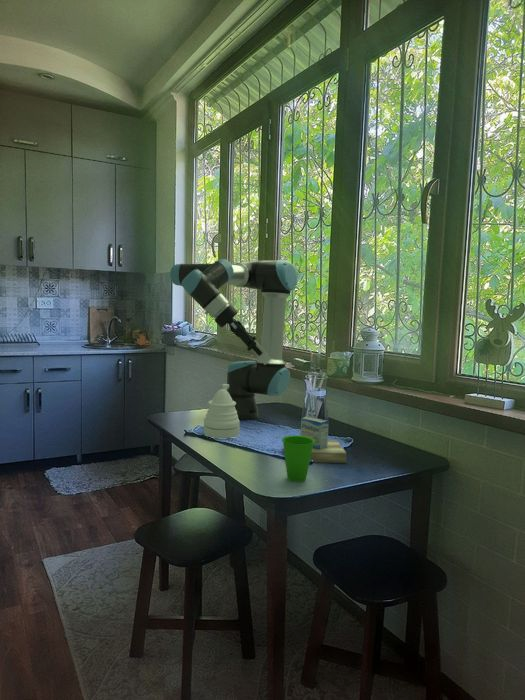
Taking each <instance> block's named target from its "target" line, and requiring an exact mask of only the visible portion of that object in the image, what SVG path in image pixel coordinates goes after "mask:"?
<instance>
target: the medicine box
mask: <svg viewBox="0 0 525 700" xmlns="http://www.w3.org/2000/svg"><path fill="white" fill-rule="evenodd" d="M329 423H330V422H329V420H326V419H321V418H316V417H311V416H304V417H302V418H300V435H299V436H306V437H310V438H312V439H314V441H315V443H313V447H312V448H316V449H323V448H325V447H327V443H328V440H329Z"/></svg>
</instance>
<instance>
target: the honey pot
mask: <svg viewBox="0 0 525 700" xmlns="http://www.w3.org/2000/svg"><path fill="white" fill-rule="evenodd" d="M221 387H222V388H221V389H219V390H217V392H215V394H214V396H213V398H212V399H211V400H208V401H207V403H208V406H209V407H208V409H207V410H206V414H205V417H204V419H203V435H204V434H205V435H207V436H209V437H214V438H231V437H236V436H238V435H239V436H240V421H241V420H239V419H238V415H237V411H236V409H235V405H236V402H235V401H233V400H232V398H231V396H230V394H229V393H228V391H227V389H228V388H229V384H227V383H222V386H221ZM239 436H238V437H239ZM236 438H237V437H236Z"/></svg>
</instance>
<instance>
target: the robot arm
mask: <svg viewBox="0 0 525 700" xmlns="http://www.w3.org/2000/svg"><path fill="white" fill-rule="evenodd" d="M296 270H297V269H295V266H294V265H293V263H292V262H290V261H289V260H283V259H282V260H281V259H278V260H277V259H272V260H251V261H245V262H235V263H233V264H232V263H231V262H230V261H228V260H227V259H225V258H219V259H218V260H215V261H214V262H213V263H178V264H174V265H173V266H172V267H171V269H170V271H169V278H170V281H171V282H172V283H173V285H175V286H179V287H180V286H181V287H182V288H183V290H185V291H186V293H187V294H188V295H189V296H190V297H191V299H193V300H194V301H195V302H196V303H197V304H198V305H199V306H200V307H201V308H202V310H204V311H205V312H204V314H205V315H207V316H210V318H211V319H213V318H214V319H213V320H214V322H215V323H216V324H217V325H218V326H219V327H220V328H224V327H225V326H226V325H229V326H228V327H229V331H231V332H232V333H233V334H234V335H236V337H237V338H239V339H241V341H242V342H243V343H244V344H245V345H246V347H247V349H246V350H247V351H248V352H250V351H251V352H252V353H253V354H254V355H255V356H256V358H258V360H240V361H234V362H233V361H232V362H229V363H228V366H227V372H226V374H227V375H226V377H227V379H226V381H227V383H226V384H229V388H228V389H227V391H228V393H229V394H230V396H231V398H232V400H233V401H235V402H236V405H235V409H236V411H237V415H238V419H240V420H239V421H241V420H242V421H243V420H244V421H245V420H246V421H247V420H252V419H256V418H258V417H259V409H258V405H257V401H256V398H255V394H256V395H264V396H268V397H281V396H283V395H284V394H285V393H286V391H287V390H288V388H289V385H290V381H291V373H290V370H289V369H288V368H286V362H285V361H284V359H283V349H284V348H283V347H284V333H285V332H284V331H285V319H286V307H287V306H286V304H287V299H288V298H289V297H290V296H291V291H293V290H294V289H296V286H297V285H298V274H297V271H296ZM228 285H231V286H234V287H236V288H246V289H252V290H260V294H261V295H262V297H263V298H264V299H263V301H264V302H263V317H262V333H261V344H260V343H258V341H257V337H256V336H252V335H251V334H250V333H249V332H248V331H247V329H246V328H245V326H244V325H243V323H242V322H241V321H240V320H239V319H238V320H237V319H236V318H234V317H235V316H237V314H238V310H237V309H236V307H234V306H233V305H232V304H229V303H230V302H229V300H228V299H227V297H225V296H224V295H223V294H222V293H221V292H220V291H219V289H220V288H222V287H223V286H228Z"/></svg>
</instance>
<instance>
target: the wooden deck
mask: <svg viewBox="0 0 525 700" xmlns="http://www.w3.org/2000/svg"><path fill="white" fill-rule="evenodd" d="M283 447H284V444H283V446H282V448H283ZM310 460H313V461H314V462H313V463H338V464H339V463H341V464H342V463H344V464H346V463H347V451H346V450H345V448H343V446H342V445H341V444H340V442H339V441H338V440H337V439H328V443H327V447H325V448H323V449H316V448H312V452H311V457H310Z"/></svg>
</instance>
